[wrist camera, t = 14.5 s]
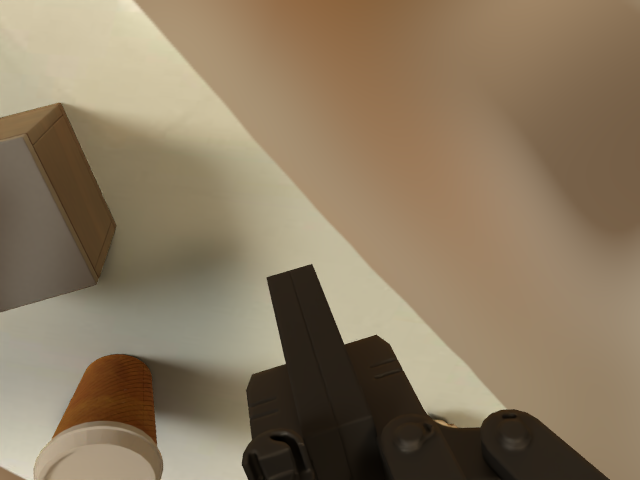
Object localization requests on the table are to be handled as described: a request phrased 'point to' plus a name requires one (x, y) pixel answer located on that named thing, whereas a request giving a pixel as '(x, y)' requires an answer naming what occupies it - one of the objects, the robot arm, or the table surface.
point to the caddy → (67, 175)
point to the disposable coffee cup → (106, 427)
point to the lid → (35, 233)
